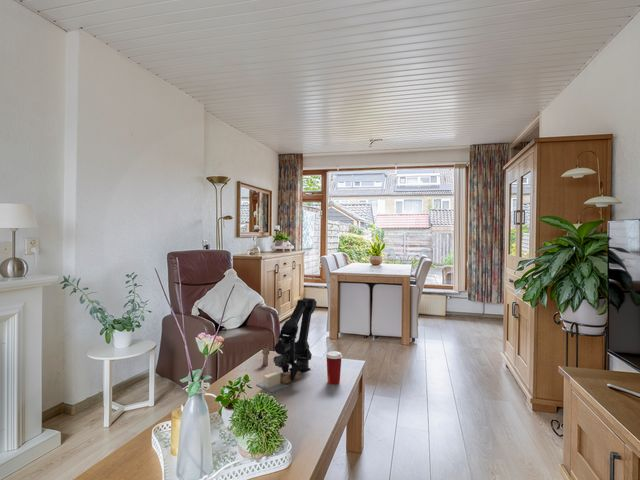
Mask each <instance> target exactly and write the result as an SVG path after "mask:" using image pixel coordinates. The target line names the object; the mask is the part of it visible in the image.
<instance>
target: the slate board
mask: <svg viewBox="0 0 640 480" xmlns="http://www.w3.org/2000/svg"><path fill="white" fill-rule="evenodd" d="M281 373H282V372H278V371H275V372H272V373H269V374H266V375H263V381H261V382H258V383H257V384H255V385H256V386H258V387H259V388H261V387H262V388H261V389H263V390H265V391H267V392H270V393H275V392H278V391H281V390H283V389H286V388H288V387H289V386H288V385H287V383H285V384H281V383H280V376H281Z"/></svg>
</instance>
